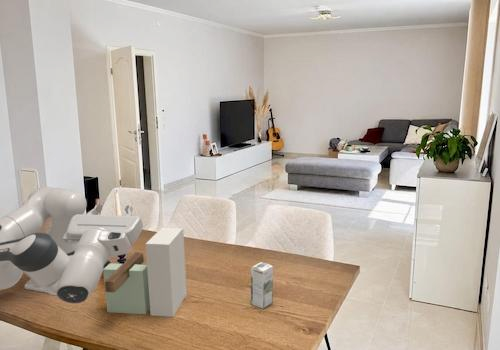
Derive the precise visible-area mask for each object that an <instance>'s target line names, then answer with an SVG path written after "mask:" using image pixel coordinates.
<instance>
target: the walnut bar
mask: <svg viewBox="0 0 500 350" xmlns="http://www.w3.org/2000/svg"><path fill="white" fill-rule="evenodd" d="M144 262H145V261H144V252H134V253H133V254H132V255H131V256H130V257H129V258H128V259H127V260H125V262H124V263H122V264H123V265H122V266H121V267H120V268H119V269H117V270H116V271H115V272H114V273H113V274H112V275H111V276H110V277H109V278H108V279H107V280H106V281H105V284H104V291H105V290H106V292H115V291H116V290H117V289H118V288H119V287H120V286H121V285H122V284H123V283H124V282H125V281H126V280H127V279H128V278H129V270H130V269H131V268H132V267H133V266H134V265H135V264H138V265H143V263H144Z"/></svg>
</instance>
